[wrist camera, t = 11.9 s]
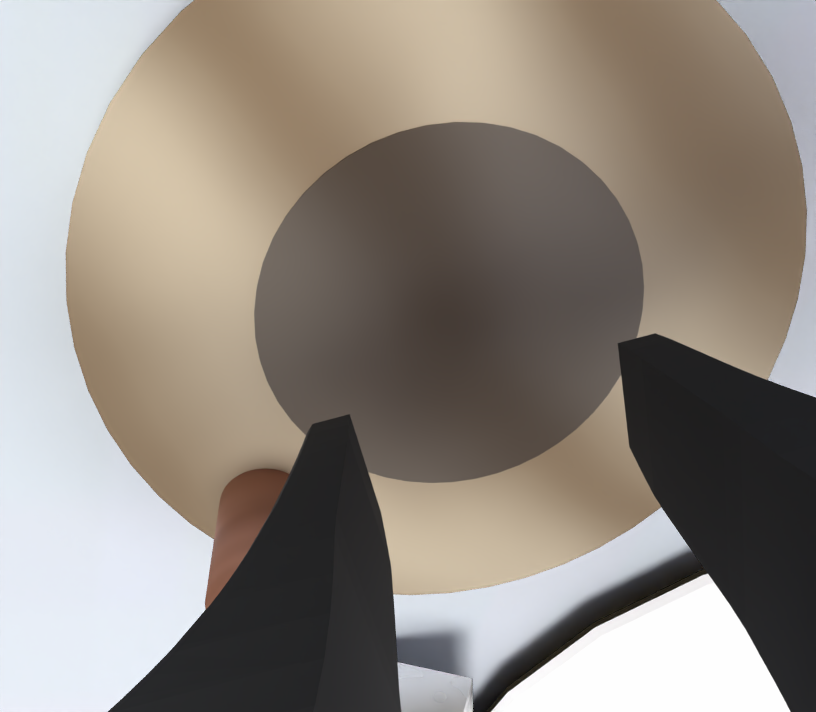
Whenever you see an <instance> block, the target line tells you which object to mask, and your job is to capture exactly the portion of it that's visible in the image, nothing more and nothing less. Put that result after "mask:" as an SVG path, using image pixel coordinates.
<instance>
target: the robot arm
mask: <svg viewBox="0 0 816 712" xmlns="http://www.w3.org/2000/svg"><path fill="white" fill-rule="evenodd" d="M618 351H619V360H620V369H621V377H622V386H623V395H624V404H625V413H626V422H627V431H628V440H629V447H630V449H631V451H632V453H633V455H634V457H635V459H636V461H637V464H638V466H639V468H640V470H641V472H642V474H643V476H644V477H645V479H646V481H647V483H648V485H649V487H650V489H651V491H652V493H653V495H654V497H655V498H656V500H657V501H658V503H659V504H660V506H661V507H662V508H663V510H664V511H665V513H666V514H667V516H668V517H669V519H670V520H671V522H672V523H673V524H674V526H675V527H676V529H677V530H678V532H679V533H680V535H681V536H682V537H683V539H684V540H685V542H686V543H687V545H688V546H689V547H690V549H691V550H692V552H693V553H694V554H695V556H696V557H697V559H698V560H699V562H700V563H701V564H702V566H703V567H704V569H705V570H706V572H707V573H708V574H709V576H710V577H711V579H712V580H713V582H714V583H715V584H716V586H717V587H718V589H719V590H720V591H721V593H722V594H723V596H724V597H725V599H726V600H727V601H728V603H729V604H730V606H731V607H732V609H733V611H734V612H735V614H736V615H737V617H738V618H739V620H740V622H741V623H742V625H743V626H744V628H745V629H746V631H747V633H748V635H749V636H750V638H751V640H752V642H753V644H754V645H755V647H756V649H757V651H758V653H759V655H760V656H761V658H762V660H763V662H764V664H765V665H766V667H767V669H768V671H769V673H770V674H771V676H772V678H773V680H774V682H775V683H776V685H777V687H778V689H779V691H780V693H781V695H782V696H783V698H784V700H785V702H786V704H787V706H788V708H789V710H790V712H816V398H815V397H813V396H810V395H807V394H804V393H801V392H798V391H795V390H792V389H790V388H787V387H784V386H781V385H779V384H776V383H774V382H771V381H768V380H766V379H763V378H761V377H758V376H756V375H753V374H751V373H748V372H746V371H743V370H741V369H739V368H736V367H734V366H732V365H729V364H727V363H725V362H722V361H720V360H718V359H715V358H713V357H711V356H708V355H706V354H704V353H702V352H699V351H697V350H695V349H693V348H690V347H688V346H686V345H683V344H681V343H679V342H676V341H674V340H672V339H669V338H667V337H664V336H661V335H659V334H656V333H654V334H651V335H647V336H643V337H639V338H635V339H632V340H628V341H624V342H620V343H618ZM108 712H401V703H400V693H399V679H398V663H397V647H396V631H395V615H394V599H393V584H392V570H391V563H390V557H389V552H388V546H387V541H386V535H385V530H384V525H383V520H382V515H381V511H380V507H379V504H378V501H377V498H376V495H375V492H374V489H373V486H372V482H371V479H370V476H369V473H368V470H367V467H366V464H365V461H364V457H363V454H362V451H361V448H360V445H359V442H358V439H357V435H356V432H355V429H354V426H353V423H352V420H351V417H350V414H348V415H344V416H340V417H337V418H333V419H329V420H325V421H322V422H318V423H314V424H312V425H311V427H310V429H309V430H308V432H307V434H306V437H305V439H304V442H303V444H302V447H301V449H300V451H299V454H298V456H297V458H296V461H295V463H294V465H293V467H292V470H291V472H290V474H289V476H288V478H287V480H286V482H285V484H284V486H283V488H282V490H281V492H280V494H279V496H278V498H277V500H276V502H275V504H274V506H273V508H272V510H271V512H270V514H269V516H268V518H267V519H266V521H265V523H264V525H263V526H262V528H261V530H260V531H259V533H258V535H257V537H256V538H255V540H254V542H253V543H252V545H251V547H250V549H249V550H248V552H247V554H246V555H245V557H244V558H243V560H242V561H241V563H240V564H239V566H238V567H237V569H236V570H235V572H234V573H233V575H232V576H231V578H230V579H229V581H228V582H227V583H226V585H225V586H224V587H223V589H222V590H221V591H220V593H219V594H218V595H217V597H216V598H215V599H214V601H213V602H212V603H211V604H210V606H209V607H208V608H207V609H206V610H205V611H204V613H203V614H202V615H201V616H200V617H199V618H198V620H197V621H196V622H195V623H194V624H193V625H192V626H191V628H190V629H189V630H188V631H187V632H186V633H185V635H184V636H183V637H182V638H181V639H180V640H179V642H178V643H177V644H176V645H175V646H174V647H173V648H172V650H171V651H170V652H169V653H168V654H167V655H166V656H165V657H164V658H163V659H162V660H161V661H160V662H159V663H158V664H157V665H156V666H155V667H154V668H153V669H152V670H151V671H150V672H149V673H148V674H147V675H146V676H145V677H144V678H143V679H142V680H141V681H140V682H139V683H138V684H137V685H136V686H135V687H134V688H133V689H132V690H131V691H130V692H129V693H128V694H127V695H126V696H124V697H123V698H122V699H121V700H120V701H119V702H118V703H117V704H116V705H115V706H114V707H113V708H111V709H110V710H109V711H108Z"/></svg>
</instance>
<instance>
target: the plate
mask: <svg viewBox="0 0 816 712" xmlns="http://www.w3.org/2000/svg"><path fill="white" fill-rule="evenodd" d="M486 712H790V710H789V708H788V706H787V704H786V702H785V700H784V698H783V696H782V695H781V693H780V691H779V689H778V687H777V685H776V683H775V682H774V680H773V678H772V676H771V674H770V673H769V671H768V669H767V667H766V665H765V664H764V662H763V660H762V658H761V656H760V655H759V653H758V651H757V649H756V647H755V645H754V644H753V642H752V640H751V638H750V636H749V635H748V633H747V631H746V629H745V628H744V626H743V625H742V623H741V622H740V620H739V618H738V617H737V615H736V614H735V612H734V611H733V609H732V607H731V606H730V604H729V603H728V601H727V600H726V599H725V597H724V596H723V594H722V593H721V591H720V590H719V589H718V587H717V586H716V584H715V583H714V582H713V580H712V579H711V577H710V576H709V574H708V573H707V572H706V570H701V571H699V572H697V573H695V574H693V575H691V576H689V577H687V578H685V579H682V580H680V581H678V582H676V583H674V584H672V585H670V586H668V587H666V588H664V589H662V590H660V591H658V592H656V593H654V594H652V595H650V596H648V597H645V598H643V599H641V600H639V601H637V602H635V603H633V604H631V605H629V606H627V607H625V608H623V609H621V610H619V611H617V612H615V613H613V614H610V615H608V616H606V617H604V618H602V619H600V620H598V621H596V622H594V623H592V624H591V625H590V626H588V627H587V628H586V629H584V630H583V631H582V632H580V633H579V634H578V635H576V636H575V637H574V638H572V639H571V640H570V641H568V642H567V643H566V644H564V645H563V646H562V647H560V648H559V649H558V650H556V651H555V652H553V653H552V654H551V655H549V656H548V657H547V658H545V659H544V660H543V661H541V662H540V663H539V664H537V665H536V666H535V667H533V668H532V669H531V670H529V671H528V672H527V673H525V674H524V675H523V676H521V677H520V678H519V679H517V680H516V681H515V682H513V683H512V684H511V685H509V686H508V687H507V688H506V689H505V690H504V691H503V692H502V693H501V695H500V696H499V697H498V698H497V699H496V700H495V702H494V703H493V704H492V705H491V706H490V707H489V709H488V710H487V711H486Z"/></svg>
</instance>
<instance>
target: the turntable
mask: <svg viewBox="0 0 816 712" xmlns="http://www.w3.org/2000/svg"><path fill="white" fill-rule="evenodd" d="M806 219H807V208H806V198H805V189H804V179H803V169H802V163H801V159H800V155H799V151H798V147H797V143H796V140H795V136H794V132H793V128H792V124H791V120H790V118H789V115H788V113H787V111H786V108H785V106H784V104H783V101H782V99H781V96H780V94H779V92H778V89H777V87H776V84H775V82H774V80H773V77H772V76H771V74H770V72H769V71H768V69H767V68H766V66H765V64H764V63H763V61H762V59H761V58H760V56H759V55H758V53H757V51H756V50H755V48H754V46H753V45H752V43H751V42H750V40H749V38H748V37H747V35H746V34H745V33H744V32H743V31H742V29H741V28H740V27H739V26H738V25H737V24H736V22H735V21H734V20H733V19H732V18H731V17H730V15H729V14H728V13H727V12H726V11H725V10H724V8H723V7H722V6H721V5H720V4H719V3H718V2H717V0H194V1H193V2H192V3H191V4H189V5H188V6H187V7H186V8H185V9H183V10H182V11H181V12H180V13H179V14H178V15H177V16H176V17H175V19H174V20H173V21H172V22H171V23H170V24H169V25H168V26H167V27H166V29H165V30H164V31H163V32H162V33H161V34H160V35H159V36H158V37H157V39H156V40H155V41H154V42H153V43H152V44H151V45H150V46H149V47H148V49H147V50H146V51H145V52H144V53H143V54H142V55H141V57H140V58H139V60H138V61H137V63H136V64H135V66H134V67H133V69H132V70H131V72H130V73H129V75H128V76H127V78H126V79H125V81H124V82H123V84H122V86H121V87H120V89H119V90H118V92H117V93H116V95H115V96H114V98H113V99H112V101H111V102H110V104H109V106H108V108H107V111H106V113H105V115H104V117H103V119H102V121H101V124H100V126H99V128H98V130H97V132H96V134H95V137H94V139H93V141H92V143H91V145H90V147H89V149H88V152H87V155H86V158H85V161H84V165H83V168H82V172H81V175H80V179H79V182H78V186H77V189H76V192H75V196H74V199H73V203H72V210H71V217H70V225H69V232H68V240H67V247H66V295H67V307H68V313H69V319H70V325H71V331H72V337H73V343H74V348H75V351H76V354H77V357H78V360H79V364H80V367H81V370H82V373H83V376H84V379H85V382H86V385H87V388H88V391H89V393H90V395H91V397H92V399H93V401H94V403H95V405H96V407H97V409H98V412H99V414H100V416H101V418H102V420H103V422H104V424H105V426H106V428H107V430H108V431H109V433H110V434H111V436H112V437H113V439H114V440H115V442H116V443H117V445H118V446H119V448H120V449H121V451H122V452H123V454H124V455H125V457H126V458H127V460H128V461H129V463H130V464H131V465H132V467H133V468H134V469H135V470H136V471H137V472H138V473H139V474H140V476H141V477H142V478H143V479H144V480H145V481H146V482H147V483H148V484H149V486H150V487H151V488H152V489H153V490H154V491H155V492H156V493H157V495H158V496H159V497H160V498H162V499H163V500H164V501H165V502H166V503H167V504H168V505H170V506H171V507H172V508H173V509H174V510H175V511H177V512H178V513H179V514H180V515H181V516H182V517H183V518H185V519H186V520H187V521H188V522H189V523H190V524H192V525H193V526H195V527H196V528H198V529H199V530H201V531H202V532H204V533H205V534H207V535H208V536H210V537H211V538H213V539H214V544H213V551H212V558H211V565H210V572H209V579H208V585H207V592H206V599H205V608H206V609H207V608H208V607H209V606H210V604H211V603H212V602H213V601H214V599H215V598H216V597H217V595H218V594H219V593H220V591H221V590H222V589H223V587H224V586H225V585H226V583H227V582H228V581H229V579H230V578H231V576H232V575H233V573H234V572H235V570H236V569H237V567H238V566H239V564H240V563H241V561H242V560H243V558H244V557H245V555H246V554H247V552H248V550H249V549H250V547H251V545H252V543H253V542H254V540H255V538H256V537H257V535H258V533H259V531H260V530H261V528H262V526H263V525H264V523H265V521H266V519H267V518H268V516H269V514H270V512H271V510H272V508H273V506H274V504H275V502H276V500H277V498H278V496H279V494H280V492H281V490H282V488H283V486H284V484H285V482H286V480H287V478H288V476H289V474H290V472H291V470H292V467H293V465H294V463H295V461H296V458H297V456H298V454H299V451H300V449H301V447H302V444H303V442H304V439H305V437H306V434H307V432H308V430H309V429H310V427H311V425H312V424H314V423H318V422H322V421H325V420H329V419H333V418H337V417H340V416H344V415H348V414H350V417H351V420H352V423H353V426H354V429H355V432H356V435H357V439H358V442H359V445H360V448H361V451H362V454H363V457H364V461H365V464H366V467H367V470H368V473H369V476H370V479H371V482H372V486H373V489H374V492H375V495H376V498H377V501H378V504H379V507H380V511H381V515H382V520H383V525H384V530H385V535H386V541H387V546H388V552H389V557H390V563H391V570H392V584H393V594H401V595H420V594H439V593H453V592H459V591H466V590H472V589H479V588H485V587H491V586H495V585H499V584H503V583H506V582H510V581H514V580H518V579H522V578H526V577H529V576H532V575H535V574H538V573H540V572H543V571H546V570H549V569H552V568H554V567H557V566H560V565H563V564H565V563H567V562H569V561H572V560H574V559H576V558H578V557H580V556H582V555H584V554H587V553H589V552H591V551H593V550H595V549H597V548H599V547H601V546H603V545H604V544H606V543H608V542H609V541H611V540H613V539H615V538H616V537H618V536H620V535H621V534H623V533H625V532H626V531H628V530H630V529H632V528H633V527H635V526H636V525H637V524H639V523H640V522H641V521H643V520H644V519H646V518H647V517H648V516H650V515H651V514H652V513H654V512H655V511H657V510H658V509H659V508H661V506H660V504H659V503H658V501H657V500H656V498H655V497H654V495H653V493H652V491H651V489H650V487H649V485H648V483H647V481H646V479H645V477H644V476H643V474H642V472H641V470H640V468H639V466H638V464H637V461H636V459H635V457H634V455H633V453H632V451H631V449H630V447H629V440H628V431H627V422H626V413H625V404H624V395H623V386H622V377H621V369H620V360H619V351H618V343H620V342H624V341H628V340H632V339H635V338H639V337H643V336H647V335H651V334H654V333H656V334H659V335H661V336H664V337H667V338H669V339H672V340H674V341H676V342H679V343H681V344H683V345H686V346H688V347H690V348H693V349H695V350H697V351H699V352H702V353H704V354H706V355H708V356H711V357H713V358H715V359H718V360H720V361H722V362H725V363H727V364H729V365H732V366H734V367H736V368H739V369H741V370H743V371H746V372H748V373H751V374H753V375H756V376H758V377H761V378H763V379H766V380H768V378H769V376H770V373H771V371H772V369H773V367H774V364H775V362H776V360H777V357H778V355H779V353H780V351H781V348H782V346H783V344H784V341H785V339H786V336H787V333H788V329H789V326H790V323H791V319H792V316H793V313H794V309H795V306H796V303H797V299H798V295H799V289H800V283H801V277H802V271H803V265H804V259H805V246H806Z"/></svg>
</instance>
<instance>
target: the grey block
mask: <svg viewBox="0 0 816 712" xmlns="http://www.w3.org/2000/svg"><path fill="white" fill-rule="evenodd" d="M397 663H398V679H399V693H400V703H401V712H473V678H468V677H464V676H459V675H454V674H450V673H445V672H441V671H436V670H432V669H427V668H422V667H418V666H413V665H409V664H404V663H399V662H397Z"/></svg>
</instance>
